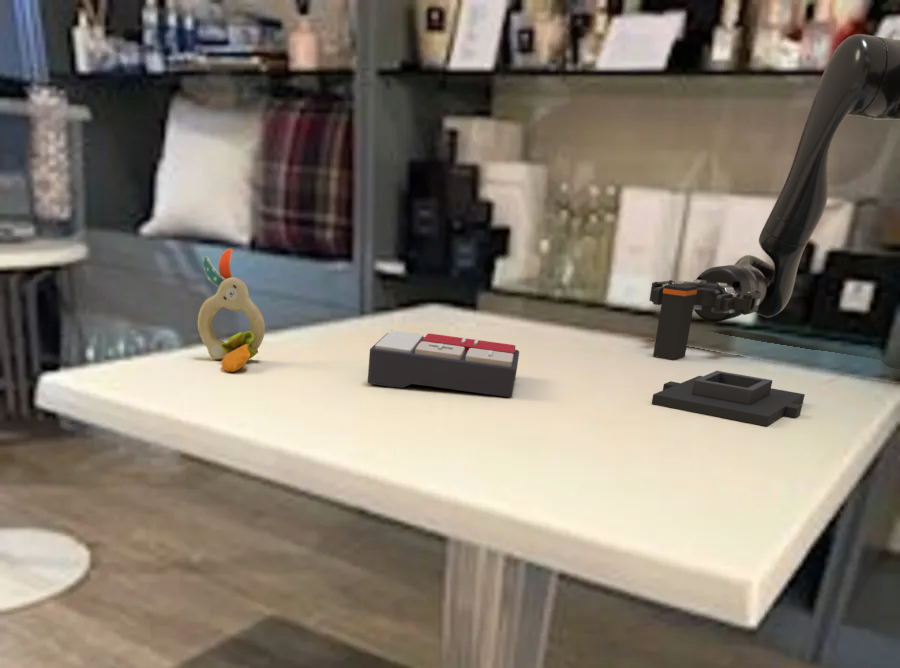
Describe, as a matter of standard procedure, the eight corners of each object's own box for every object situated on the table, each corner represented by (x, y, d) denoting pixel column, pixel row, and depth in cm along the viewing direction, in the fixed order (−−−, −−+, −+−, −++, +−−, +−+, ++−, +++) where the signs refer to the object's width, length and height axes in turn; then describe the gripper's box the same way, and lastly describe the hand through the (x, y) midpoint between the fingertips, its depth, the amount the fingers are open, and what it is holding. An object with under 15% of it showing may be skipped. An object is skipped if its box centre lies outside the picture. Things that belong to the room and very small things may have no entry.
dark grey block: (663, 352, 119) (675, 283, 115) (685, 356, 118) (698, 286, 114) (652, 356, 116) (663, 285, 112) (674, 360, 114) (686, 288, 111)
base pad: (687, 382, 102) (691, 360, 101) (814, 405, 95) (819, 382, 94) (640, 401, 91) (644, 377, 90) (779, 429, 85) (785, 403, 83)
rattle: (175, 366, 92) (166, 250, 87) (212, 353, 100) (205, 245, 95) (240, 374, 91) (235, 256, 86) (273, 360, 98) (270, 251, 93)
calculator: (516, 361, 87) (369, 341, 88) (510, 403, 89) (366, 383, 90) (520, 342, 97) (388, 324, 98) (515, 381, 99) (385, 363, 100)
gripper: (684, 260, 130) (641, 264, 118) (780, 270, 123) (745, 276, 111) (675, 312, 133) (632, 322, 121) (768, 326, 126) (733, 337, 114)
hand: (686, 300), depth 116 cm, fingers open, 8 cm apart
